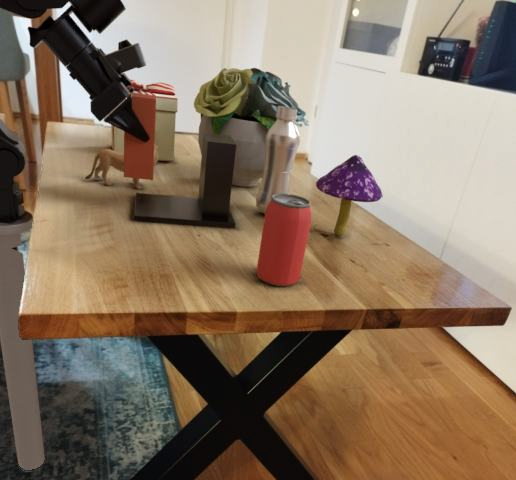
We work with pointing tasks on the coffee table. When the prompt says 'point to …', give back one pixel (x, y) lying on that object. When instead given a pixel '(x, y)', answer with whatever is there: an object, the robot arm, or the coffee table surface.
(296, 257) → the beer can
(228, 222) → the seat plate
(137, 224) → the coffee table surface
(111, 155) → the lion figurine
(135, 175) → the tall terracotta column
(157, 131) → the gift box
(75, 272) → the coffee table surface
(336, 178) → the decorative mushroom
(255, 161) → the flower arrangement
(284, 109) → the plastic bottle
